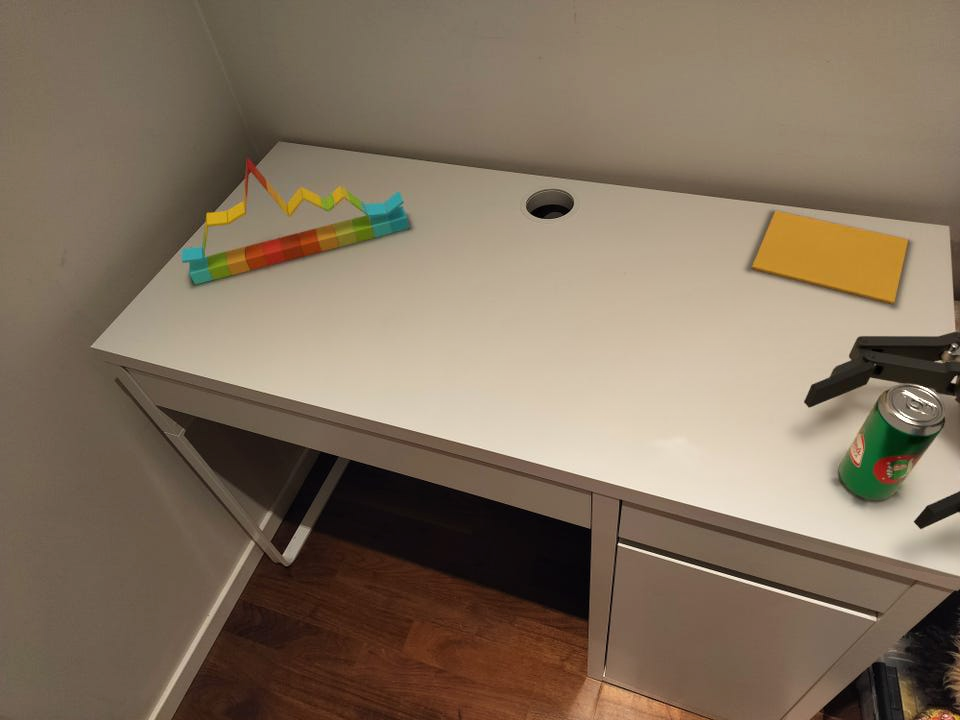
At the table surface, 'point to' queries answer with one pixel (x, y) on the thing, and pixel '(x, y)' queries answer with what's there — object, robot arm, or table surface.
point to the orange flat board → (832, 256)
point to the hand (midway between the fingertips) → (862, 452)
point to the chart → (294, 244)
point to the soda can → (892, 440)
